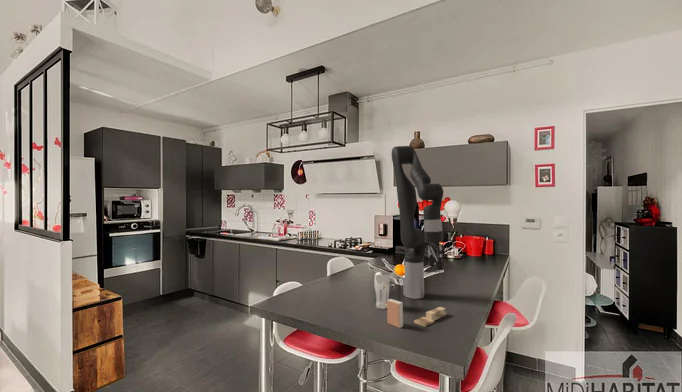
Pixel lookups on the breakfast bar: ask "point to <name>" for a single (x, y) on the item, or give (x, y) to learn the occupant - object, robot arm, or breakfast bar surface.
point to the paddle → (431, 316)
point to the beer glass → (381, 289)
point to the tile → (395, 313)
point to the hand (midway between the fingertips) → (435, 268)
